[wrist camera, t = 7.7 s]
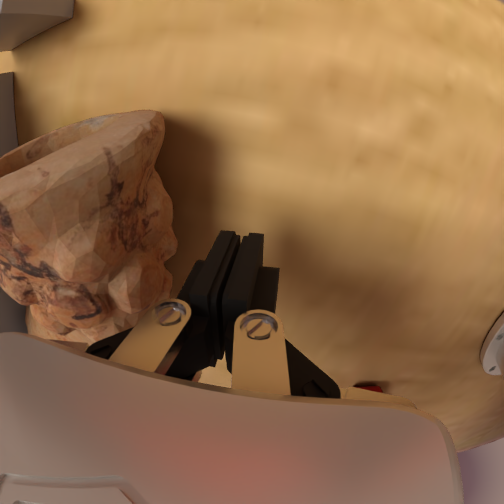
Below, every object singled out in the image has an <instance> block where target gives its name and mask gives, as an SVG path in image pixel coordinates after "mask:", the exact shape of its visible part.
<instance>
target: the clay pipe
mask: <svg viewBox="0 0 504 504" xmlns="http://www.w3.org/2000/svg"><path fill="white" fill-rule="evenodd" d="M164 135H165V124H164V117H163V116H162V114H161V113H160V112H158V111H153V110H138V111H132V112H125V113H117V114H110V115H104V116H99V117H94V118H91V119H87V120H84V121H81V122H78V123H74V124H71V125H67V126H65V127H62V128H59V129H57V130H54V131H52V132H49V133H47V134H44V135H42V136H40V137H38V138H35V139H33V140H31V141H29V142H27V143H25V144H23V145H21V146H19V147H17V148H16V149H14V150H12V151H10V152H8V153H7V154H5V155H3V156H2V157H0V286H1V287H2V289H3V290H4V291H5V292H6V293H7V294H8V295H9V296H10V297H11V298H12V299H14V300H15V301H17V302H18V303H19V304H21V305H24V306H26V315H25V322H26V326H27V330H28V334H30V335H34V336H38V337H41V338H44V339H52V340H62V341H72V342H83V343H88V344H89V346H90V345H92V344H93V343H95V342H97V341H99V340H102V339H104V338H107V337H109V336H112V335H115V334H117V333H120V332H122V331H125V330H127V329H130V328H132V327H135V326H136V324H137V323H138V322H139V321H140V319H141V318H142V317H143V316H144V314H145V313H146V312H147V311H148V310H149V308H150V307H151V306H152V305H154V304H155V303H157V302H159V301H161V300H164V299H169V297H170V292H171V288H172V279H173V275H172V274H171V273H170V272H169V271H168V270H167V269H166V268H165V266H164V262H165V261H166V260H168V259H169V258H170V257H172V256H173V255H175V254H176V250H177V246H178V241H177V239H176V237H175V234H174V232H173V229H172V227H171V224H172V222H173V204H172V201H171V198H170V196H169V195H168V193H167V192H166V191H165V189H164V187H163V184H162V181H161V178H160V176H159V175H158V173H157V172H156V170H155V168H154V166H155V162H156V159H157V157H158V154H159V152H160V149H161V147H162V144H163V140H164Z"/></svg>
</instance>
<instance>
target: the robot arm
mask: <svg viewBox="0 0 504 504" xmlns="http://www.w3.org/2000/svg"><path fill="white" fill-rule="evenodd" d="M263 243H264V234H259V233H249V235H248V236H244V237H243V239H242V242H241V245H240V235H236V233H235V231H223V230H221V231H220V233H219V235H218V237H217V239H216V241H215V243H214V245H213V247H212V249H211V250H210V252H209V254H208V256H207V258H206V260H205V261H202V260H198V261H197V262H196V263H195V265H194V267H193V268H192V270H191V272H190V274H189V276H188V278H187V280H186V281H185V283H184V285H183V287H182V289H181V291H180V293H179V295H178V297H177V298H176V299H174V298H172V299H164V300H161V301H159V302H157V303H155V304H154V305H152V306H151V307H150V308H149V310H148V311H147V312H146V313H145V314H144V316H143V317H142V318H141V319H140V321H139V322H138V323H137V324H136V326H135V327H132V328H130V329H127V330H125V331H122V332H120V333H117V334H115V335H112V336H109V337H107V338H104V339H102V340H99V341H97V342H95V343H93V344H92V345H90V346H89V344H88V343H83V342H72V341H62V340H52V339H44V338H41V337H38V336H34V335H30V334H26V333H19V332H3V333H0V504H464V498H463V497H464V495H463V486H462V479H461V472H460V466H459V462H458V457H457V453H456V449H455V446H454V443H453V440H452V438H451V435H450V433H449V431H448V430H447V428H446V427H445V425H444V424H443V423H442V422H441V421H440V420H439V419H437V418H436V417H434V416H432V415H431V414H428V413H426V412H424V411H421V410H418V409H417V408H416V406H415V404H414V403H413V402H412V401H411V400H409V399H408V398H405V397H402V396H396V395H390V394H385V393H379V392H374V391H369V390H365V389H360V388H355V387H351V386H349V387H348V389H345V388H341V387H338V385H337V384H336V383H335V382H334V381H333V380H332V379H331V378H330V377H329V376H328V375H326V374H325V373H324V372H323V371H322V370H321V369H319V368H318V367H317V366H316V365H315V364H314V363H312V362H311V361H310V360H309V359H308V358H307V357H305V356H304V355H303V354H302V353H301V352H300V351H299V350H297V349H296V348H295V347H294V346H293V345H292V344H291V343H289V342H288V341H287V340H286V339H285V337H284V328H283V324H282V321H281V319H280V318H279V317H278V316H277V315H275V308H276V300H277V291H278V280H279V268H273V267H263V266H262V265H263ZM224 352H225V356H226V362H227V370H228V371H229V372H230V373H231V374H232V381H231V388H227V387H221V386H215V385H209V384H204V383H198V381H199V379H200V377H201V374H202V369H204V368H206V367H208V366H211V367H215V366H216V362H217V359H220V360H222V359H223V356H224ZM480 360H481V364H482V366H483V369H484V371H485V372H486V373H488V374H491V375H501V374H502V376H503V379H504V312H503V314H502V315H501V316H500V318H499V319H498V320H497V321H496V323H495V324H494V326H493V327H492V329H491V330H490V332H489V334H488V336H487V338H486V339H485V341H484V344H483V347H482V349H481V354H480Z"/></svg>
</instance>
